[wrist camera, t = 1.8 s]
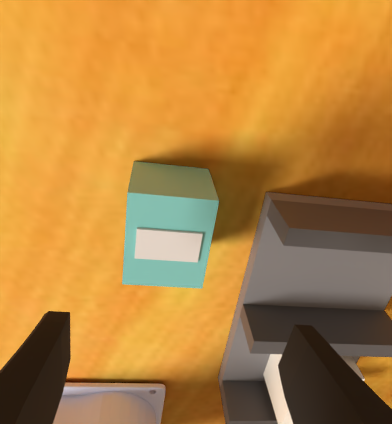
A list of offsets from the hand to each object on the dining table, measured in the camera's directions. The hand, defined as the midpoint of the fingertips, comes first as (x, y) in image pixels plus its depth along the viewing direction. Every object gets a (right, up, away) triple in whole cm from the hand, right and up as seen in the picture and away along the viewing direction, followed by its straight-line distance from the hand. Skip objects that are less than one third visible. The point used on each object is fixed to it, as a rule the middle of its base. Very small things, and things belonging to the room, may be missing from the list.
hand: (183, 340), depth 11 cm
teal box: (-1, +5, +9) cm, 10 cm away
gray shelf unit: (+8, -2, +13) cm, 15 cm away
